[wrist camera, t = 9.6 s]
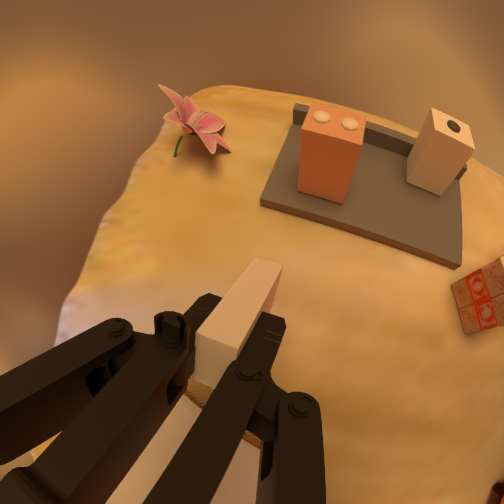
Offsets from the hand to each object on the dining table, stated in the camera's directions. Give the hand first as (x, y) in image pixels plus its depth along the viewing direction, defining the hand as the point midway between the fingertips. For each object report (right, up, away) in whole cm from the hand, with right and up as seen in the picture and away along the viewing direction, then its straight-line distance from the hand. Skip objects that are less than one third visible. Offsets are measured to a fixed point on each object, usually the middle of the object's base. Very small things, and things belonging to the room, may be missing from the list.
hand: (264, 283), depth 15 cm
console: (+14, +9, +15) cm, 22 cm away
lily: (-7, +16, +20) cm, 27 cm away
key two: (+7, +9, +14) cm, 18 cm away
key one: (+20, +11, +13) cm, 27 cm away
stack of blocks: (+32, -2, +8) cm, 34 cm away
